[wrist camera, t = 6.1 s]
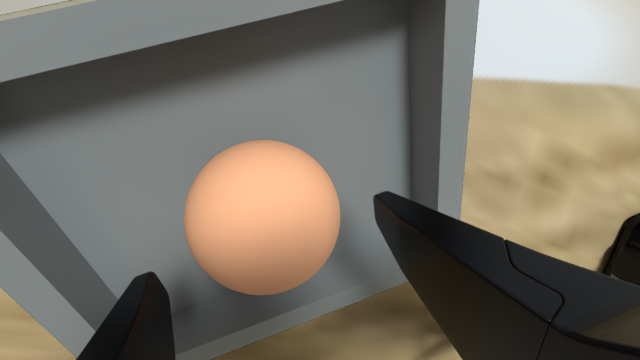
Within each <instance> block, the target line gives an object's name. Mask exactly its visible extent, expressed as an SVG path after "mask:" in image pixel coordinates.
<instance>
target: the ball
mask: <svg viewBox="0 0 640 360" xmlns="http://www.w3.org/2000/svg"><path fill="white" fill-rule="evenodd" d="M184 227H185V234H186V238H187V242H188V245H189V247H190V250H191V252H192V254H193V256H194V257H195V259H196V260H197V262H198V263H199V265H200V266H201V268H202V269H203V270H204V271H205V272H206V273H207V274H208V275H209V276H210V277H211V278H213V279H214V280H215V281H217V282H218V283H220V284H222V285H223V286H225V287H227V288H229V289H232V290H234V291H237V292H241V293H245V294H250V295H271V294H277V293H281V292H285V291H288V290H290V289H293V288H295V287H297V286H299V285H301V284H302V283H304V282H305V281H307V280H308V279H310V278H311V277H312V276H313V275H314V274H316V273H317V272H318V271H319V270H320V268H321V267H322V266H323V265H324V263H325V262H326V260H327V259H328V258H329V256H330V254H331V252H332V250H333V248H334V246H335V243H336V240H337V238H338V233H339V228H340V204H339V200H338V196H337V192H336V189H335V187H334V185H333V183H332V181H331V179H330V177H329V175H328V174H327V172H326V171H325V170H324V169H323V167H322V166H321V165H320V164H319V163H318V162H317V161H316V160H315V159H314V158H312V157H311V156H310V155H309V154H307V153H306V152H304V151H302V150H301V149H299V148H297V147H294V146H292V145H289V144H287V143H283V142H279V141H272V140H256V141H249V142H244V143H240V144H238V145H235V146H232V147H230V148H228V149H226V150H224V151H222V152H221V153H219V154H218V155H216V156H215V157H214V158H213V159H211V160H210V161H209V162H208V163H207V164H206V165H205V166H204V167H203V169H202V170H201V171H200V172H199V174H198V175H197V177H196V178H195V180H194V182H193V184H192V186H191V188H190V190H189V193H188V196H187V199H186V204H185V212H184Z"/></svg>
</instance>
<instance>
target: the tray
mask: <svg viewBox="0 0 640 360" xmlns="http://www.w3.org/2000/svg"><path fill="white" fill-rule="evenodd" d="M478 9H479V0H69V1H65V2H60V3H55V4H50V5H45V6H41V7H36V8H31V9H27V10H22V11H18V12H12V13H7V14H3V15H0V287H1V288H2V289H3V290H4V291H5V292H6V293H7V294H8V295H9V296H10V297H11V298H13V299H14V300H15V301H16V302H17V303H18V304H19V305H20V306H21V307H22V308H23V309H24V310H25V311H27V312H28V313H29V314H30V315H31V316H32V317H33V318H34V319H35V320H36V321H37V322H38V323H40V324H41V325H42V326H43V327H44V328H45V329H46V330H47V331H48V332H49V333H50V334H51V335H53V336H54V337H55V338H56V339H57V340H58V341H59V342H60V343H61V344H62V345H63V346H64V347H66V348H67V349H68V350H69V351H70V352H71V353H72V354H73V355H74V356H75V357H76V358H77V357H78V356H79V354H80V353H81V352H82V350H83V349H84V347H85V346H86V345H87V343H88V342H89V340H90V339H91V337H92V336H93V335H94V333H95V332H96V330H97V329H98V328H99V326H100V325H101V323H102V322H103V321H104V319H105V318H106V316H107V315H108V314H109V312H110V311H111V309H112V308H113V307H114V305H115V304H116V302H117V301H118V299H119V298H120V297H121V295H122V294H123V292H124V291H125V290H126V288H127V287H128V285H129V284H130V283H131V281H132V280H133V279H134V277H136V276H137V275H140V274H143V273H146V272H149V271H152V272H154V273H155V274H156V275H157V277H158V278H159V280H160V281H161V283H162V284H163V286H164V287H165V289H166V290H167V292H168V295H169V298H170V307H171V316H172V325H173V335H174V344H175V355H176V360H211V359H213V358H216V357H218V356H221V355H223V354H226V353H229V352H231V351H234V350H236V349H239V348H241V347H244V346H246V345H249V344H251V343H254V342H257V341H259V340H262V339H264V338H267V337H269V336H272V335H274V334H277V333H279V332H282V331H284V330H287V329H290V328H292V327H295V326H297V325H300V324H302V323H305V322H307V321H310V320H312V319H315V318H318V317H320V316H323V315H325V314H328V313H330V312H333V311H335V310H338V309H340V308H343V307H345V306H348V305H351V304H353V303H356V302H358V301H361V300H363V299H366V298H368V297H371V296H373V295H376V294H379V293H381V292H384V291H386V290H389V289H391V288H394V287H396V286H399V285H401V284H404V283H406V282H409V281H408V280H407V278H406V277H405V275H404V274H403V272H402V271H401V269H400V267H399V265H398V264H397V262H396V260H395V258H394V256H393V254H392V252H391V250H390V248H389V247H388V245H387V243H386V241H385V239H384V237H383V235H382V233H381V231H380V229H379V228H378V226H377V223H376V220H375V214H374V204H373V196H374V195H375V194H378V193H381V192H384V191H390V192H392V193H395V194H397V195H400V196H402V197H405V198H407V199H409V200H412V201H414V202H417V203H419V204H422V205H424V206H426V207H429V208H431V209H434V210H436V211H439V212H441V213H443V214H446V215H448V216H451V217H453V218H456V219H458V220H460V213H461V201H462V190H463V179H464V167H465V156H466V145H467V134H468V122H469V111H470V100H471V88H472V77H473V66H474V54H475V43H476V32H477V20H478ZM256 140H272V141H279V142H283V143H287V144H289V145H292V146H294V147H297V148H299V149H301V150H302V151H304V152H306V153H307V154H309V155H310V156H311V157H312V158H314V159H315V160H316V161H317V162H318V163H319V164H320V165H321V166H322V167H323V169H324V170H325V171H326V172H327V174H328V175H329V177H330V179H331V181H332V183H333V185H334V187H335V189H336V192H337V196H338V200H339V204H340V228H339V233H338V238H337V240H336V243H335V246H334V248H333V250H332V252H331V254H330V256H329V258H328V259H327V260H326V262H325V263H324V265H323V266H322V267H321V268H320V270H319V271H318V272H317V273H316V274H314V275H313V276H312V277H311V278H310V279H308V280H307V281H305V282H304V283H302V284H301V285H299V286H297V287H295V288H293V289H290V290H288V291H285V292H281V293H277V294H271V295H250V294H245V293H241V292H237V291H234V290H232V289H229V288H227V287H225V286H223V285H222V284H220V283H218V282H217V281H215V280H214V279H213V278H211V277H210V276H209V275H208V274H207V273H206V272H205V271H204V270H203V269H202V268H201V266H200V265H199V263H198V262H197V260H196V259H195V257H194V256H193V254H192V252H191V250H190V247H189V245H188V242H187V238H186V234H185V227H184V212H185V204H186V199H187V196H188V193H189V190H190V188H191V186H192V184H193V182H194V180H195V178H196V177H197V175H198V174H199V172H200V171H201V170H202V169H203V167H204V166H205V165H206V164H207V163H208V162H209V161H210V160H211V159H213V158H214V157H215V156H216V155H218V154H219V153H221V152H222V151H224V150H226V149H228V148H230V147H232V146H235V145H238V144H240V143H244V142H249V141H256Z"/></svg>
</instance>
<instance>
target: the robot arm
mask: <svg viewBox="0 0 640 360" xmlns="http://www.w3.org/2000/svg"><path fill="white" fill-rule="evenodd" d="M373 204H374V214H375V220H376V223H377V226H378V228H379V229H380V231H381V233H382V235H383V237H384V239H385V241H386V243H387V245H388V247H389V248H390V250H391V252H392V254H393V256H394V258H395V260H396V262H397V264H398V265H399V267H400V269H401V271H402V272H403V274H404V275H405V277H406V278H407V280H408V281H409V283H410V284H411V285H412V287H413V288H414V290H415V291H416V293H417V294H418V296H419V297H420V298H421V300H422V301H423V303H424V304H425V306H426V307H427V309H428V310H429V312H430V313H431V314H432V316H433V317H434V319H435V320H436V322H437V323H438V325H439V326H440V327H441V329H442V330H443V332H444V333H445V335H446V336H447V338H448V339H449V341H450V342H451V343H452V345H453V346H454V348H455V349H456V351H457V352H458V354H459V355H460V357H461V358H462V359H463V360H640V215H638V216H635V217H634V218H632V219H631V220H630V221H629V222H628V224H627V226H626V228H625V230H624V232H623V234H622V236H621V239H620V241H619V243H618V245H617V247H616V249H615V252H614V254H613V256H612V258H611V260H610V262H609V265H608V267H607V269H606V271H605V273H604V274H601V273H598V272H595V271H592V270H589V269H586V268H583V267H580V266H577V265H574V264H571V263H568V262H565V261H562V260H559V259H556V258H553V257H550V256H548V255H545V254H542V253H540V252H537V251H534V250H532V249H529V248H527V247H524V246H521V245H519V244H517V243H514V242H512V241H509V240H505V241H504V239H503V238H502V237H499V236H497V235H494V234H492V233H490V232H487V231H485V230H482V229H480V228H477V227H475V226H473V225H470V224H468V223H465V222H463V221H460V220H458V219H456V218H453V217H451V216H448V215H446V214H443V213H441V212H439V211H436V210H434V209H431V208H429V207H426V206H424V205H422V204H419V203H417V202H414V201H412V200H409V199H407V198H405V197H402V196H400V195H397V194H395V193H392V192H390V191H384V192H381V193H378V194H375V195H374V196H373ZM76 360H176V355H175V344H174V335H173V325H172V316H171V307H170V298H169V295H168V292H167V290H166V289H165V287H164V286H163V284H162V283H161V281H160V280H159V278H158V277H157V275H156V274H155V273H154V272H152V271H149V272H146V273H143V274H140V275H137V276H136V277H134V279H133V280H132V281H131V283H130V284H129V285H128V287H127V288H126V290H125V291H124V292H123V294H122V295H121V297H120V298H119V299H118V301H117V302H116V304H115V305H114V307H113V308H112V309H111V311H110V312H109V314H108V315H107V316H106V318H105V319H104V321H103V322H102V323H101V325H100V326H99V328H98V329H97V330H96V332H95V333H94V335H93V336H92V337H91V339H90V340H89V342H88V343H87V345H86V346H85V347H84V349H83V350H82V352H81V353H80V354H79V356H78V357H77V359H76Z"/></svg>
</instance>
